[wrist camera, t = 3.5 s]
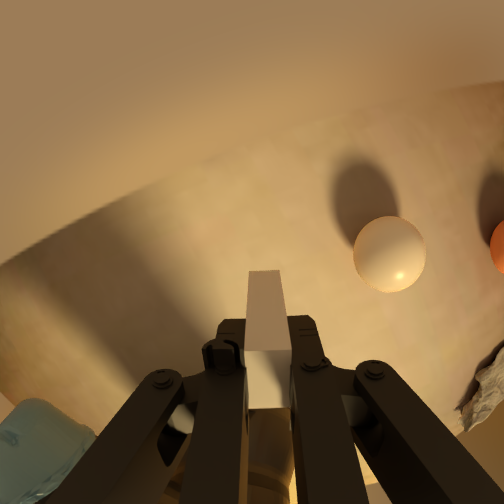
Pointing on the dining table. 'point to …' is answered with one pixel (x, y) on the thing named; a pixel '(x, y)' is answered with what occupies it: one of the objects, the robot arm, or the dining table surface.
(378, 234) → the cue ball
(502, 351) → the mineral specimen
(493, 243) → the object ball
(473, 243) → the dining table surface
